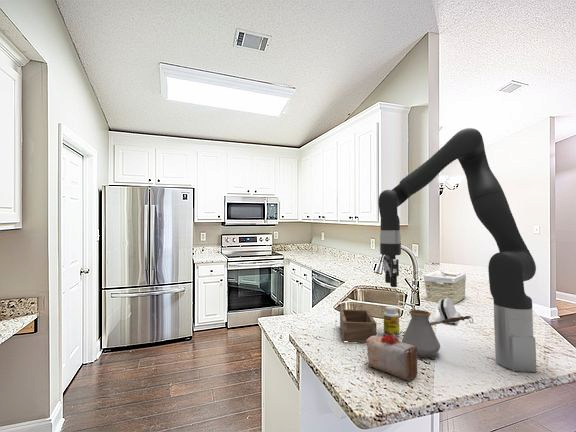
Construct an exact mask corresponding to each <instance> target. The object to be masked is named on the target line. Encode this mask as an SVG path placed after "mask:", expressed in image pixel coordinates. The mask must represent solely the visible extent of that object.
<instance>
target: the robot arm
mask: <svg viewBox="0 0 576 432" xmlns="http://www.w3.org/2000/svg"><path fill="white" fill-rule="evenodd" d="M456 160H458V162H459V164H460V166H461V168H462V170H463V173H464V175H465V178H466V183H467V191H468V195H469V199H470V202H471V205H472V207H473V210H474V213H475V215H476V218H478V221H480V223H481V224H482V225H483V226H484V228H485V229H486V230H487V231H488V232H489V234H491V235H492V237H493V240H494V241H495V243H496V245H497V248H498V252H496V253H494V254H493V255H492V256H491V257H490V258H489V261H488V267H487V269H488V281H489V283H488V284H489V291H490V294H491V297H492V299H493V322H494V323H493V325H494V331H493V332H494V352H495V353H494V358H495V362H496V363H497V364H498V365H500V366H502V367H504V368H507V369H509V370H511V371H514V372H525V373H526V372H527V373H528V372H530V373H537V371H538V370H537V369H538V368H537V348H536V347H537V346H536V345H537V344H536V343H537V342H536V337H535V336H534V320H533V317H534V316H533V315H534V314H533V300H532V298H531V297H530V296H528V295H527V294H526V292H525V285H524V282H527V281H530V280H532V278H533V277H534V276H535V275H536V271H537V265H536V262H535V259H534V257H533V255H532V253H531V252H530V250H529V249H528V247H527V244H526V242H525V241H524V239H523V236H522V235H521V233H520V231H519V228H518V226H517V223H516V220H515V218H514V215H513V213H512V210H511V207H510V204H509V202H508V200H507V197H506V194H505V192H504V190H503V188H502V185H501V183H500V182H499V180H498V179H497V177H496V176H495V174H494V173H493V172H492V169H491V167H490V164H489V162H488V158H487V155H486V149H485V143H484V138H483V135H482V134H481V132H480V131H479V130H478V129H476V128H473V127H467V128H463V129H461V130H459V131H458V132H456V133H455V134H454V135H453V136H452V137H451V138H450V139H449V140H448V141H447V142H446V143H445V144H444V145H443V146H442V147H440V148H439V149H438V151H436V152H435V153H434V154H433V155H432V156H431V157H429V159H427V160H426V161H425V162H424V163H422V164H421V165H420V166H418V167H417V168H416V169H414V170H413V171H411V172H410V173H409V174H407V175H406V176H405V177H403V178H402V179H401V180H400V181H399V184H397V185H396V186H394V188H392V189H385V190H383V191H381V193H379V196H378V202H377V203H378V210H379V216H380V217H379V218H380V233H379V253H380V255H383V257H382V258H383V271H384V273H385V274H384V279H385V280H384V281H385V283H386V284H389V286H390V287H391V288H397V286H398V277H399V276H400V274H399V272H400V271H399V270H400V269H399V268H400V267H399V266H400V265H399V259H398V258H396V256H401V254H402V246H401V245H402V241H401V239H402V235H401V226H400V225H401V221H400V217H399V215H398V207H400V206H402V204H403V203H405V202H406V201H407V200H408V199H409V198H410V197H411V196H413V195H414V194H416V193H417V192H420V190H422V189H423V188H425V187H427V186H428V185H429V184H430V183H431V182H432V181H434V179H436V177H437V176H438V175H439V174H440V173H441V172H442V171H443V170H445V168H447V166H449V165H450V164H452V163H454V162H455V161H456Z"/></svg>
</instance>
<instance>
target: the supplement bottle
mask: <svg viewBox="0 0 576 432" xmlns="http://www.w3.org/2000/svg"><path fill="white" fill-rule="evenodd" d="M383 334H384V336H385V335H389V334H390V335H391V336H392V335H393V334H395V336H396V338H398V337H399V336H400V314H399V312H398V309H397V307H395V306H386V307H385V311H384V312H383Z"/></svg>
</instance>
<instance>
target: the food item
mask: <svg viewBox="0 0 576 432" xmlns="http://www.w3.org/2000/svg"><path fill="white" fill-rule="evenodd" d="M365 345H366V350H367V353H366V354H367V366H368V367H369V366H371V367H373V368H372V369H375V368H376V369H375V370H378V369H379V370H378V371H381V370H382V371H381V372H384V371H385V373H386V372H387V374H389V373H390V374H389V375H392V376H394V377H397V378H399V379H402V380H406V381H408V382H411V381H413V380H414V379H415V378H416V377H417V376H418V356H417V347H416V346H413V345H410V344H406V343H403V342H402V341H400V340H399V338H398V337H396V336H395V334H393V335H392V336H391V335H390V334H389V335H385V334H384V335H383V336H379V335H377V336H371V337H369V338H368V339H367V340H366V344H365ZM371 367H370V368H371Z"/></svg>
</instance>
